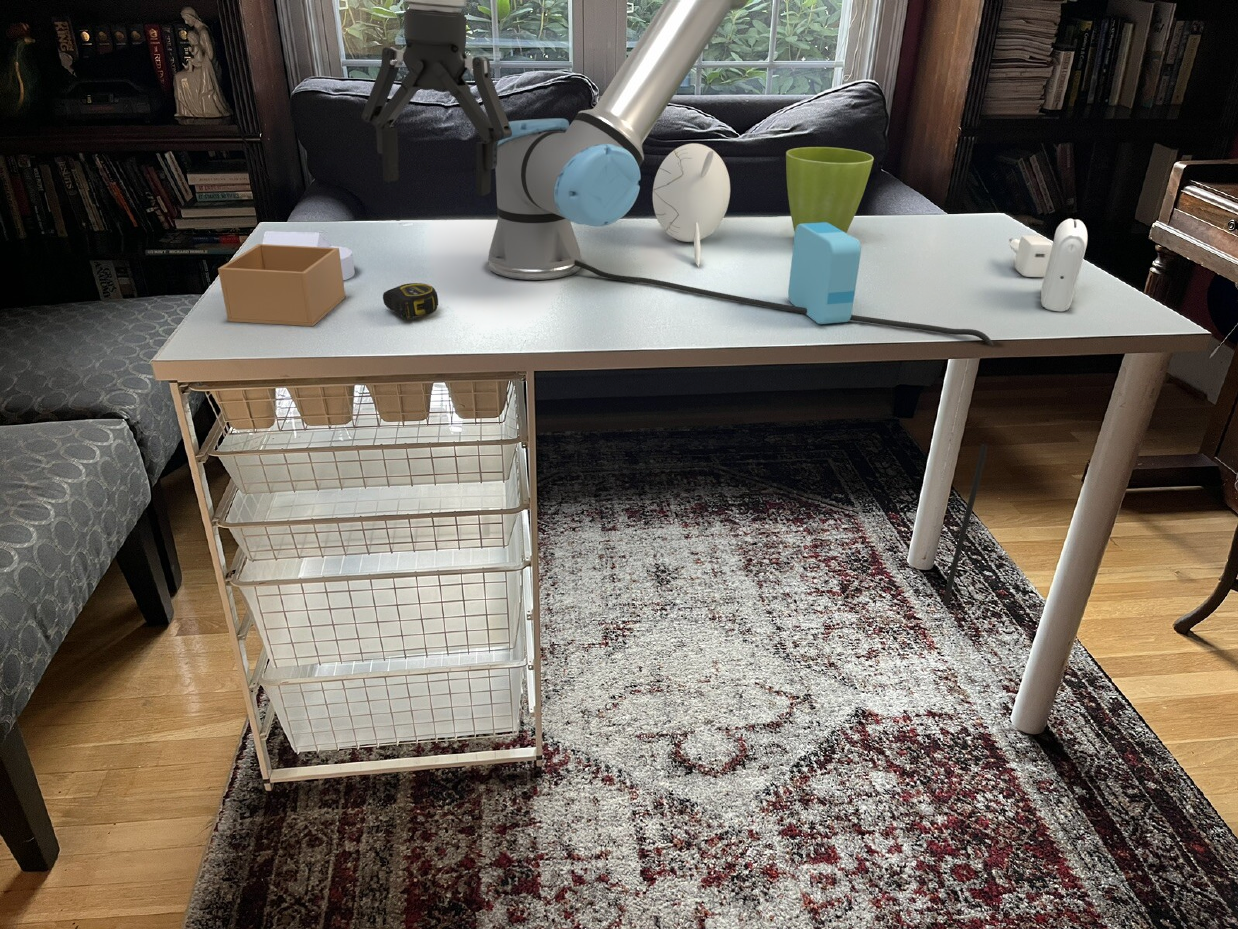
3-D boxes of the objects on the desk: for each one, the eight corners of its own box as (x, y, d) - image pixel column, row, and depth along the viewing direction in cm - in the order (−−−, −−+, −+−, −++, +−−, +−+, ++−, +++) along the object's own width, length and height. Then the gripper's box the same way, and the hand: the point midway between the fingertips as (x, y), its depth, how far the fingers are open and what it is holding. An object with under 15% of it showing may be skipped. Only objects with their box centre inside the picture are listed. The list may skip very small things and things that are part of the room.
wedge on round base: (262, 282, 142) (345, 284, 142) (254, 239, 139) (340, 241, 139) (281, 264, 150) (361, 266, 150) (275, 223, 147) (356, 225, 147)
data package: (850, 325, 131) (863, 241, 125) (821, 327, 130) (832, 243, 124) (813, 298, 141) (823, 219, 135) (786, 300, 140) (795, 221, 134)
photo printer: (1070, 313, 137) (1093, 230, 131) (1039, 309, 138) (1060, 227, 132) (1068, 293, 145) (1089, 214, 139) (1039, 289, 147) (1058, 211, 140)
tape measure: (382, 311, 132) (379, 286, 130) (427, 303, 135) (424, 278, 133) (401, 326, 127) (398, 300, 125) (447, 317, 130) (445, 291, 128)
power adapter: (999, 258, 161) (1007, 225, 159) (1027, 259, 161) (1035, 226, 158) (1019, 278, 152) (1028, 242, 149) (1049, 279, 151) (1058, 244, 149)
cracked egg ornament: (654, 137, 169) (665, 143, 146) (728, 145, 170) (750, 151, 147) (643, 242, 176) (652, 263, 152) (714, 248, 177) (734, 270, 153)
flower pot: (799, 230, 175) (809, 143, 168) (873, 244, 168) (887, 153, 160) (762, 247, 165) (771, 154, 157) (839, 263, 157) (852, 166, 149)
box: (345, 297, 137) (339, 247, 133) (313, 326, 126) (305, 273, 123) (266, 293, 138) (258, 243, 134) (228, 321, 127) (217, 268, 124)
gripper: (328, -1, 112) (338, 178, 122) (516, 17, 106) (511, 204, 115) (362, 1, 119) (369, 171, 128) (541, 18, 112) (534, 195, 122)
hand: (436, 187), depth 122 cm, fingers open, 13 cm apart
